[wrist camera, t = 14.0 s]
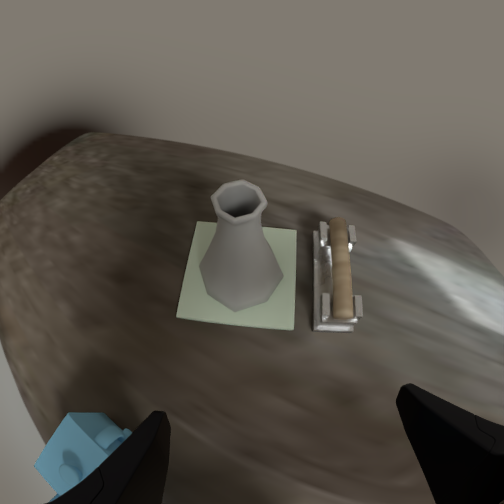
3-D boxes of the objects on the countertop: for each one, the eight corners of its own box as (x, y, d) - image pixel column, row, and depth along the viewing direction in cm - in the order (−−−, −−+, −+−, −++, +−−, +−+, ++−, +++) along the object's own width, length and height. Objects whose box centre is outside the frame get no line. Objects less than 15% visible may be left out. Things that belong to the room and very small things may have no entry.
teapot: (109, 518, 12) (69, 544, 5) (62, 475, 13) (14, 485, 7) (171, 446, 17) (138, 465, 11) (117, 400, 19) (68, 397, 12)
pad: (292, 330, 22) (293, 329, 22) (177, 317, 23) (176, 316, 22) (295, 232, 27) (296, 230, 27) (197, 223, 28) (197, 221, 27)
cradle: (351, 332, 22) (364, 323, 20) (312, 331, 22) (321, 322, 20) (345, 237, 27) (354, 220, 25) (312, 234, 27) (318, 216, 25)
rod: (349, 320, 21) (356, 314, 19) (330, 319, 21) (336, 313, 19) (343, 228, 25) (347, 218, 24) (327, 226, 25) (331, 216, 24)
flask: (186, 265, 25) (158, 192, 16) (248, 226, 27) (249, 146, 18) (232, 327, 22) (223, 277, 13) (297, 279, 24) (324, 208, 16)
